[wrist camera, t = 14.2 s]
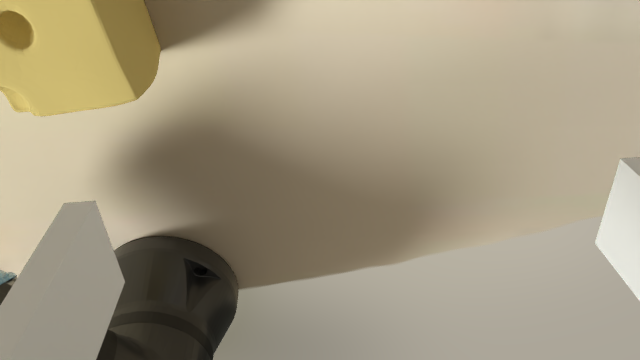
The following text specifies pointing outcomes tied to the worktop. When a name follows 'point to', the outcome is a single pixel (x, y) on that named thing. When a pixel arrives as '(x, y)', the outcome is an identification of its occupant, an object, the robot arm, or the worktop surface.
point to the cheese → (75, 54)
